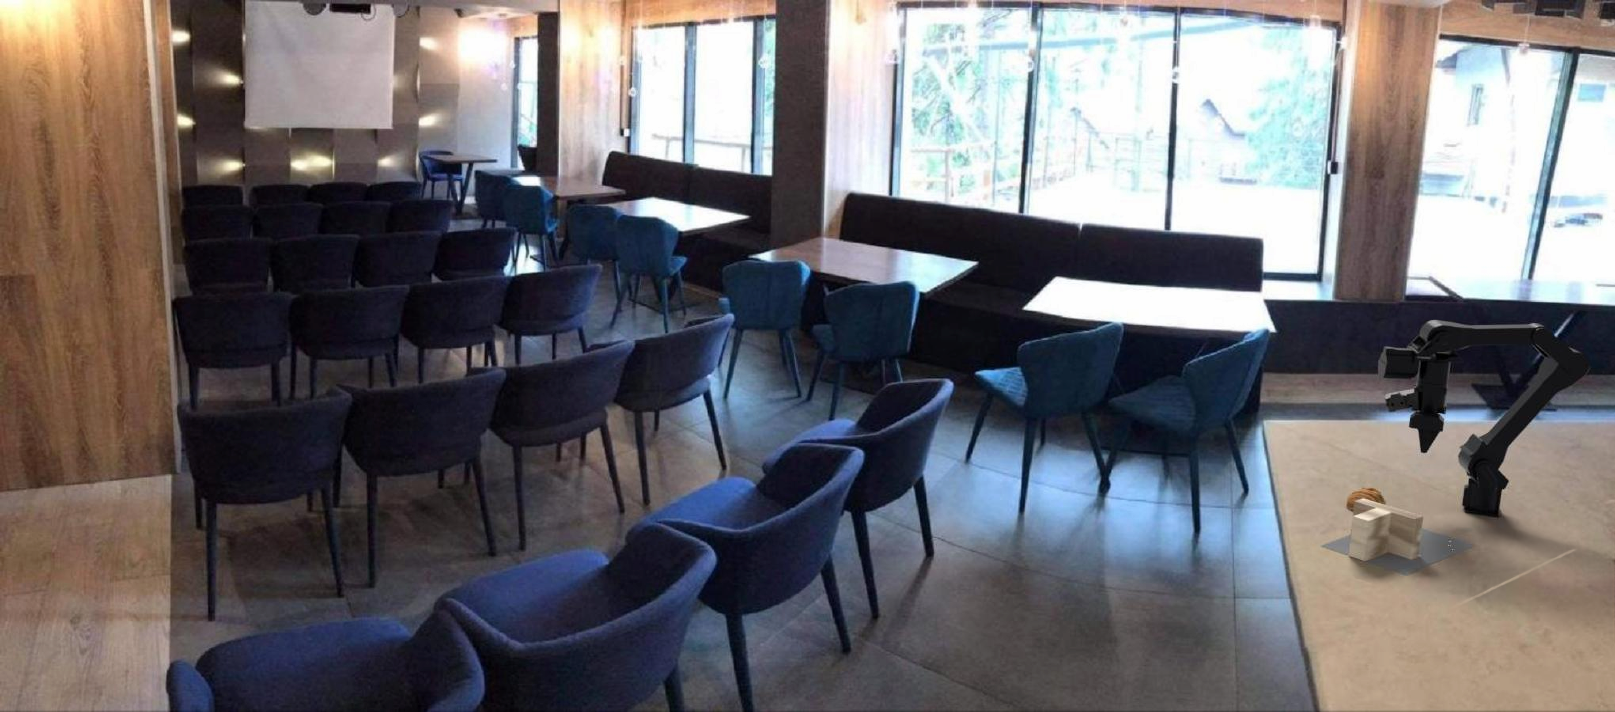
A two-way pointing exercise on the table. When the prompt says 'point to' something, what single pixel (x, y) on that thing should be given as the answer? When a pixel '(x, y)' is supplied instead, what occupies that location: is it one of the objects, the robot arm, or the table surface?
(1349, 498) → the pastry
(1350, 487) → the table surface
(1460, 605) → the table surface
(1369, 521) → the t block
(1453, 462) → the table surface
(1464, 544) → the mat
